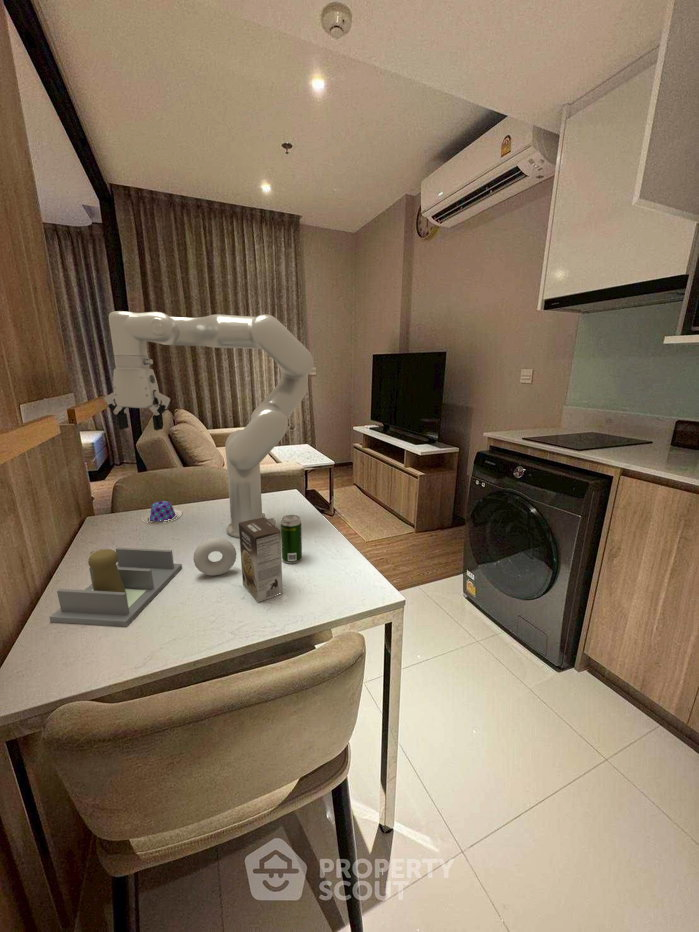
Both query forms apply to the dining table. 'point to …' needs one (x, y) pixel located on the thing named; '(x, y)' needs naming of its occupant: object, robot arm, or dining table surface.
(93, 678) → the dining table surface
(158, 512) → the purple patterned dome
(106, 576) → the brown gourd-shaped form
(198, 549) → the donut
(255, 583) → the coffee box
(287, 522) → the beer can
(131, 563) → the rack
